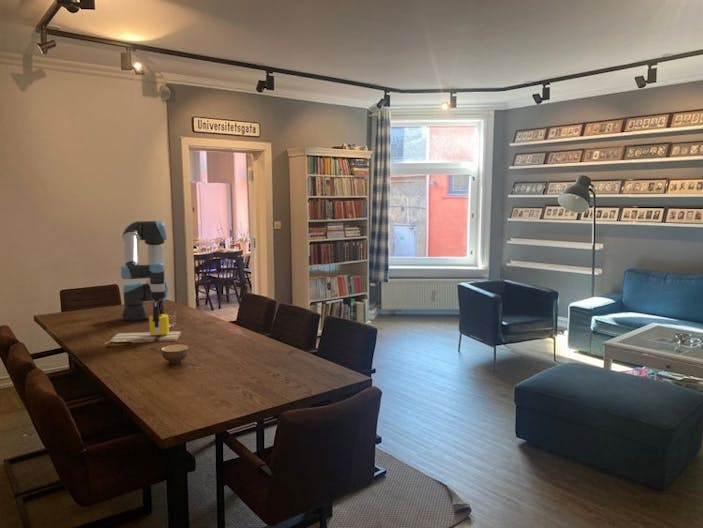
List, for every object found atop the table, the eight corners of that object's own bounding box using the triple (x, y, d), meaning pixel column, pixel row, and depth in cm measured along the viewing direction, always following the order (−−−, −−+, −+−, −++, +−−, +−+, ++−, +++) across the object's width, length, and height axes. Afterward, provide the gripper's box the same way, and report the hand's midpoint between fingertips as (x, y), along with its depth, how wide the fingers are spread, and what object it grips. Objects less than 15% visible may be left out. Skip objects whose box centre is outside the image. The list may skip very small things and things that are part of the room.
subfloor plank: (118, 335, 295) (118, 332, 295) (180, 333, 300) (180, 330, 300) (109, 343, 279) (109, 340, 279) (175, 341, 284) (175, 338, 284)
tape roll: (162, 335, 284) (162, 318, 283) (146, 334, 286) (145, 317, 285) (172, 331, 294) (171, 314, 293) (156, 330, 296) (155, 313, 295)
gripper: (155, 287, 298) (156, 325, 300) (145, 294, 276) (147, 336, 278) (168, 287, 299) (170, 325, 302) (160, 294, 277) (162, 335, 279)
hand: (159, 330), depth 290 cm, fingers closed on tape roll, 10 cm apart
